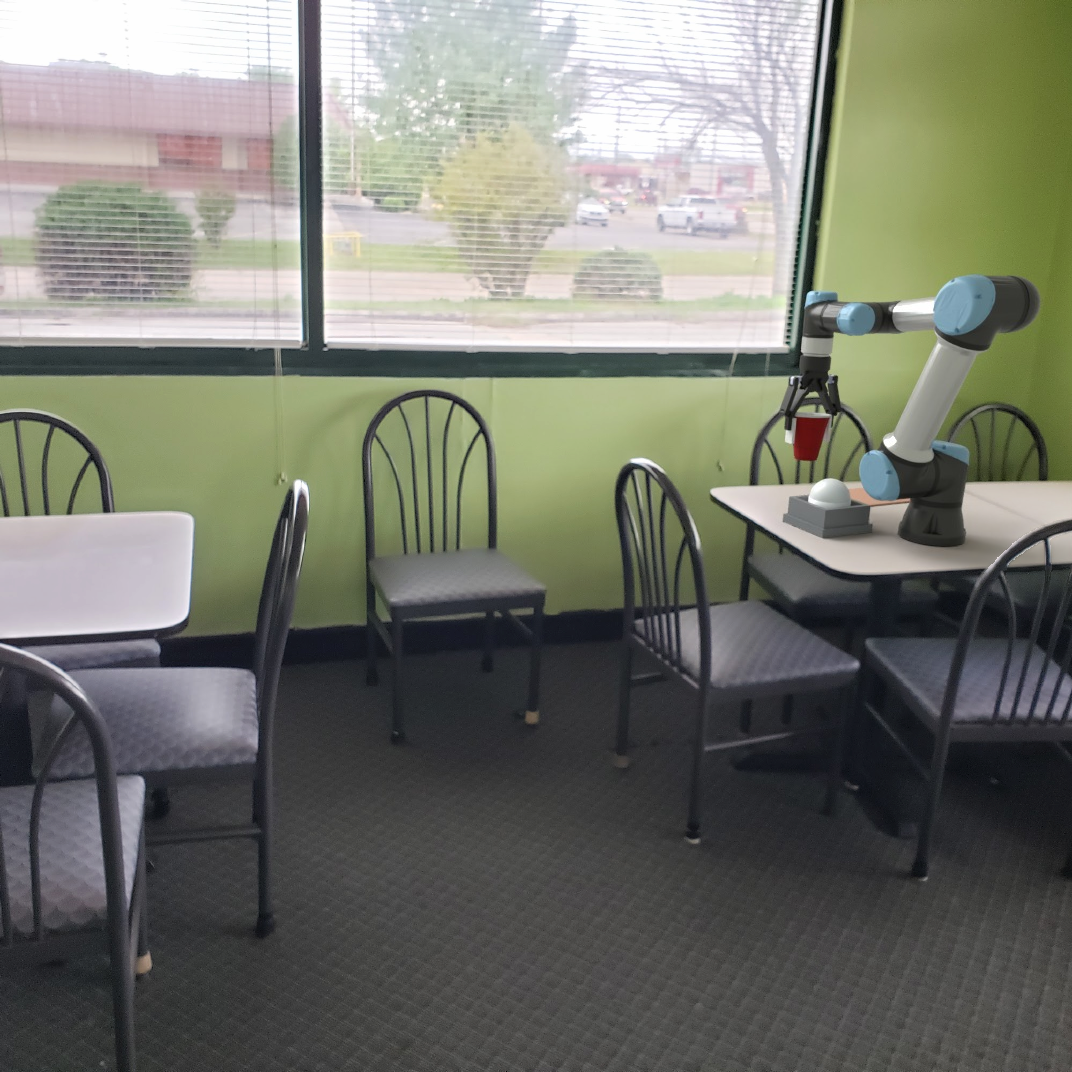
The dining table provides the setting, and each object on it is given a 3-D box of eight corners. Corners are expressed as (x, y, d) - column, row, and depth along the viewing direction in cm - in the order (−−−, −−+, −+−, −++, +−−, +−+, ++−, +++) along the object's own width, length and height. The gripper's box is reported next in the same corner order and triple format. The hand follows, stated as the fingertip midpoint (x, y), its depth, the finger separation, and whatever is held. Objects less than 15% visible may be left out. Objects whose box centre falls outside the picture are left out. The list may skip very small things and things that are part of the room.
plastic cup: (823, 455, 267) (827, 409, 264) (830, 464, 257) (835, 416, 254) (781, 453, 268) (785, 408, 265) (787, 462, 258) (791, 415, 255)
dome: (857, 520, 248) (862, 482, 245) (824, 524, 244) (829, 485, 241) (830, 510, 256) (834, 472, 254) (798, 513, 252) (802, 475, 250)
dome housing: (871, 531, 247) (874, 506, 245) (822, 537, 241) (825, 511, 239) (830, 516, 260) (833, 491, 258) (782, 521, 254) (785, 496, 252)
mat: (915, 501, 277) (915, 500, 277) (869, 506, 271) (869, 505, 271) (874, 487, 291) (874, 486, 291) (829, 492, 285) (829, 490, 285)
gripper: (842, 351, 263) (833, 436, 269) (769, 354, 254) (761, 441, 260) (862, 355, 257) (852, 441, 263) (788, 357, 247) (779, 447, 253)
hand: (807, 441), depth 261 cm, fingers closed on plastic cup, 11 cm apart
